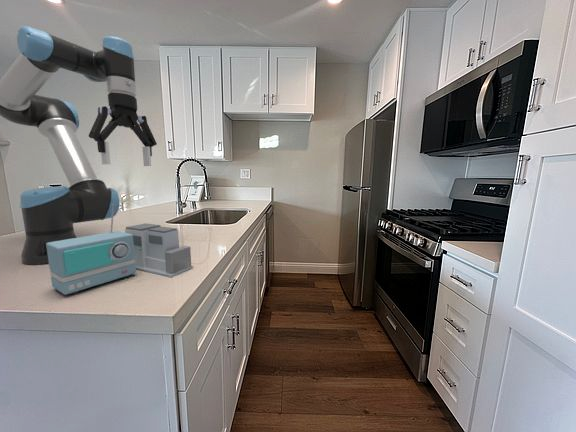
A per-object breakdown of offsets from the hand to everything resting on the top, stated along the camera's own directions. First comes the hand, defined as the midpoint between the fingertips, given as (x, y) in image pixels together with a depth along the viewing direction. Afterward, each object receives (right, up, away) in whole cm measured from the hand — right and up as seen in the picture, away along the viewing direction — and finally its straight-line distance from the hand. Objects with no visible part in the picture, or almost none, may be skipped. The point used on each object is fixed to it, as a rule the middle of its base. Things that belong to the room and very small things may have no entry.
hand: (128, 165), depth 81 cm
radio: (+2, -34, -16) cm, 38 cm away
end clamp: (+20, -33, -7) cm, 39 cm away
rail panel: (+12, -32, -5) cm, 35 cm away
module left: (+7, -32, -2) cm, 32 cm away
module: (+14, -29, -6) cm, 32 cm away
